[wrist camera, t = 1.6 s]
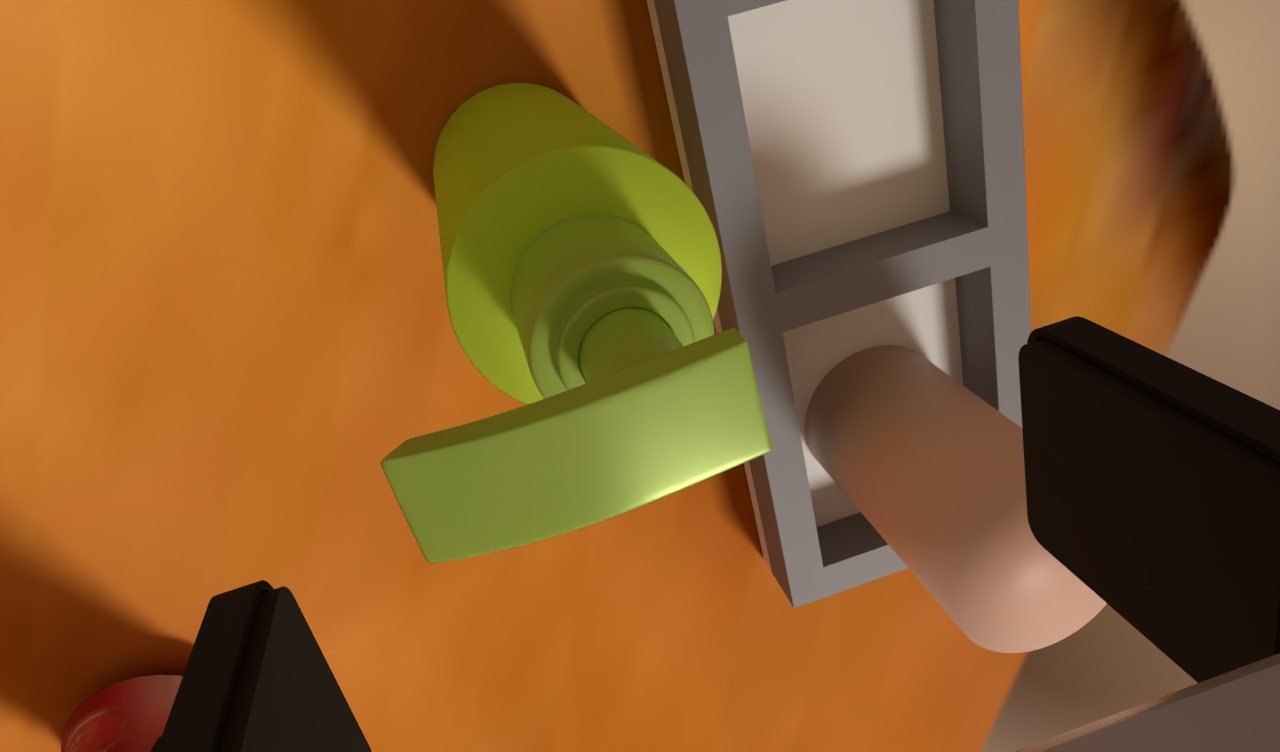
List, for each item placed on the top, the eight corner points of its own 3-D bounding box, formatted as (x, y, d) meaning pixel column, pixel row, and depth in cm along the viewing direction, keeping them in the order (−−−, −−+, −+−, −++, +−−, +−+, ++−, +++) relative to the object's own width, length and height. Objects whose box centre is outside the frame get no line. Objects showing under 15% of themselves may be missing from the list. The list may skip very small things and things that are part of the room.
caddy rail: (627, -92, 28) (760, -141, 17) (946, -173, 29) (1256, -267, 19) (763, 558, 39) (895, 773, 29) (990, 480, 41) (1197, 658, 30)
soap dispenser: (374, 123, 29) (312, 345, 11) (577, 59, 29) (832, 170, 12) (440, 288, 31) (477, 686, 14) (625, 225, 32) (894, 527, 14)
